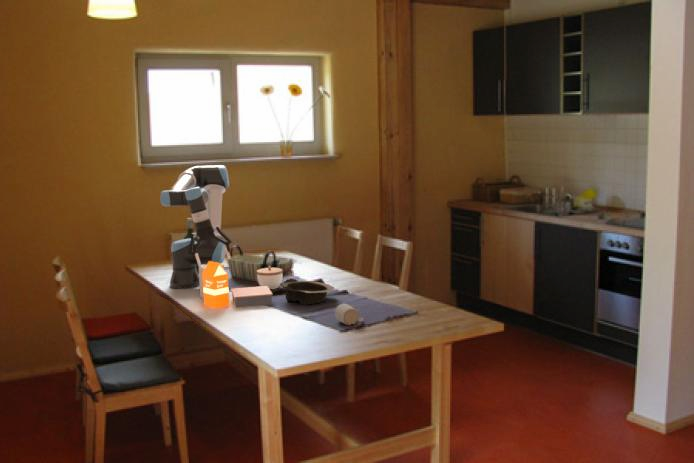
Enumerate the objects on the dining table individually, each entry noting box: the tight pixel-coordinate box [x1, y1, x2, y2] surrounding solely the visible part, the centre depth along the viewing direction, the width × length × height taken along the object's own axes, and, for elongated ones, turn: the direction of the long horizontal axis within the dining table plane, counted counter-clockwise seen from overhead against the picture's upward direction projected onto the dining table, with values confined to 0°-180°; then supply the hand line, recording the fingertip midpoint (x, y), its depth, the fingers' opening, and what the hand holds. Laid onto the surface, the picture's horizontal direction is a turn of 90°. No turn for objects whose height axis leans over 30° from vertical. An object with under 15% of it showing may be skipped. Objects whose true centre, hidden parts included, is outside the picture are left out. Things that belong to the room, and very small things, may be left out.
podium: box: [230, 285, 274, 309], centre depth 365 cm, size 17×17×5 cm
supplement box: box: [198, 263, 225, 299], centre depth 376 cm, size 9×9×15 cm
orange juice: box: [202, 261, 230, 309], centre depth 359 cm, size 8×9×20 cm
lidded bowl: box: [256, 265, 284, 290], centre depth 390 cm, size 13×13×11 cm
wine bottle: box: [183, 217, 200, 275], centre depth 429 cm, size 8×8×30 cm
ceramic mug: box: [334, 303, 364, 326], centre depth 325 cm, size 11×8×8 cm
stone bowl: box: [280, 278, 335, 306], centre depth 364 cm, size 25×25×9 cm
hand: (215, 263), depth 374 cm, fingers open, 14 cm apart
